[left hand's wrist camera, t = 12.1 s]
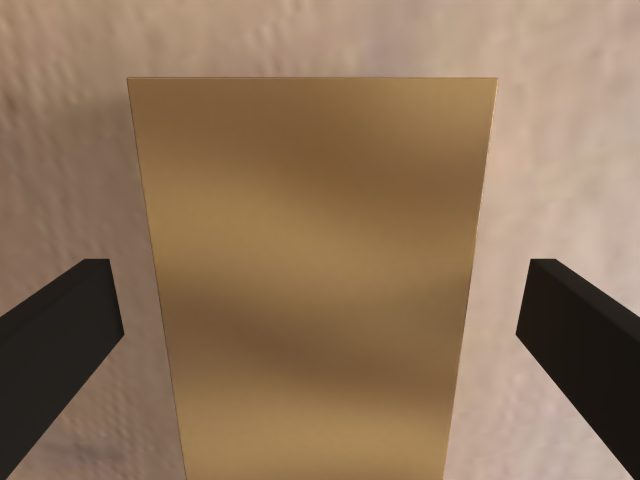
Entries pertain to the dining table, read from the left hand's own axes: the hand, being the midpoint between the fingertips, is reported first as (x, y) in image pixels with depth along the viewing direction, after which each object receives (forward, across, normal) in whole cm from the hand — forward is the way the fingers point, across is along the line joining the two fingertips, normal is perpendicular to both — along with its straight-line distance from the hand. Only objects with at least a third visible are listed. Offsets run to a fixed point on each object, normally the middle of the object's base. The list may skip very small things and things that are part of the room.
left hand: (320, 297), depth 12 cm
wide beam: (+6, 0, -23) cm, 24 cm away
